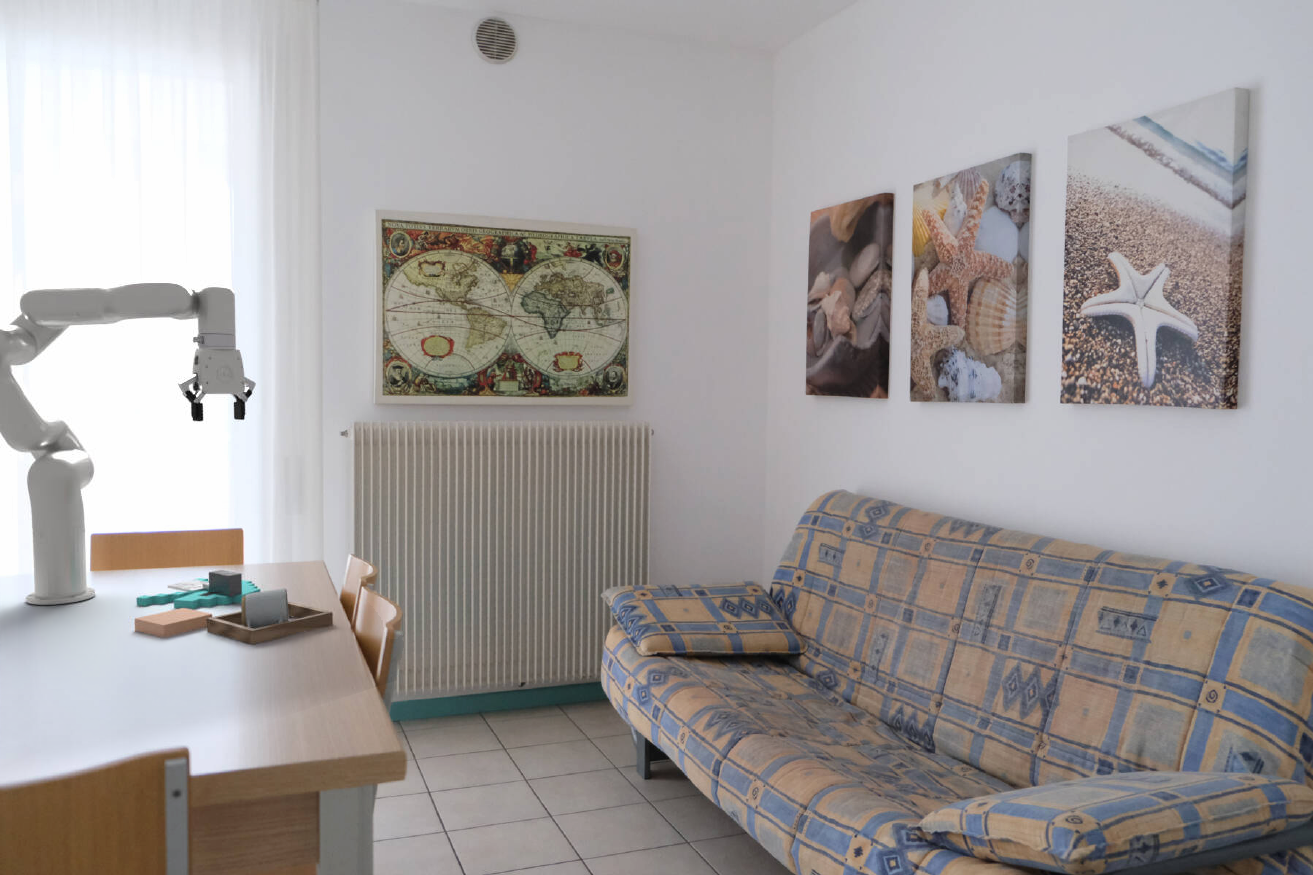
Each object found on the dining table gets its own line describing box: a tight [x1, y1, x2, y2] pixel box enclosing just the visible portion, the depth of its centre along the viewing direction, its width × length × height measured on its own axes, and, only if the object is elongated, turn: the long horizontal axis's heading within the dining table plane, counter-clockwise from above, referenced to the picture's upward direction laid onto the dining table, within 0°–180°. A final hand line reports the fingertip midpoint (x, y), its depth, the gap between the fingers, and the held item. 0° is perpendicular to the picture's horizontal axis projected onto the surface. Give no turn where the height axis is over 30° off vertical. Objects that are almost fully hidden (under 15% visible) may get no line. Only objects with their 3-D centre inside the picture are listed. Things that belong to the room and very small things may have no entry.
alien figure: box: [136, 577, 261, 610], centre depth 208 cm, size 20×2×20 cm
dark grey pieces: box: [167, 569, 243, 597], centre depth 208 cm, size 19×7×4 cm, turn 58°
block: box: [134, 608, 213, 638], centre depth 183 cm, size 3×10×9 cm
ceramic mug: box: [240, 588, 290, 629], centre depth 181 cm, size 11×8×8 cm
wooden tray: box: [206, 601, 334, 645], centre depth 183 cm, size 15×17×2 cm
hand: (219, 420), depth 212 cm, fingers open, 9 cm apart
